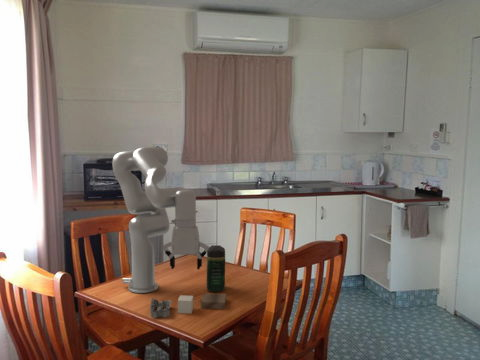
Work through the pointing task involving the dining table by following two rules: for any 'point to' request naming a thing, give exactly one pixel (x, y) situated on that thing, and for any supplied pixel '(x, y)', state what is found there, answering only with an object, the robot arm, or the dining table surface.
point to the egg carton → (159, 308)
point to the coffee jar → (216, 268)
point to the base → (213, 301)
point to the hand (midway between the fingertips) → (185, 268)
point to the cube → (185, 304)
